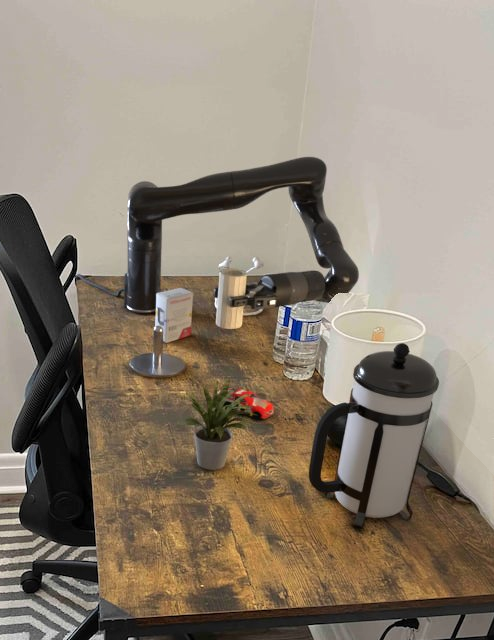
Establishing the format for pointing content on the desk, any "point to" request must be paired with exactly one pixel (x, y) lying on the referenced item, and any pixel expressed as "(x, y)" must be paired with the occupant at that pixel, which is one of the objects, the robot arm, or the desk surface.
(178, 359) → the stand
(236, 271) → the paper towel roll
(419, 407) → the coffee press
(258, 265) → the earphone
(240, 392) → the race car
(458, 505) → the desk surface
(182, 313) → the ink box
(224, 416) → the house plant
